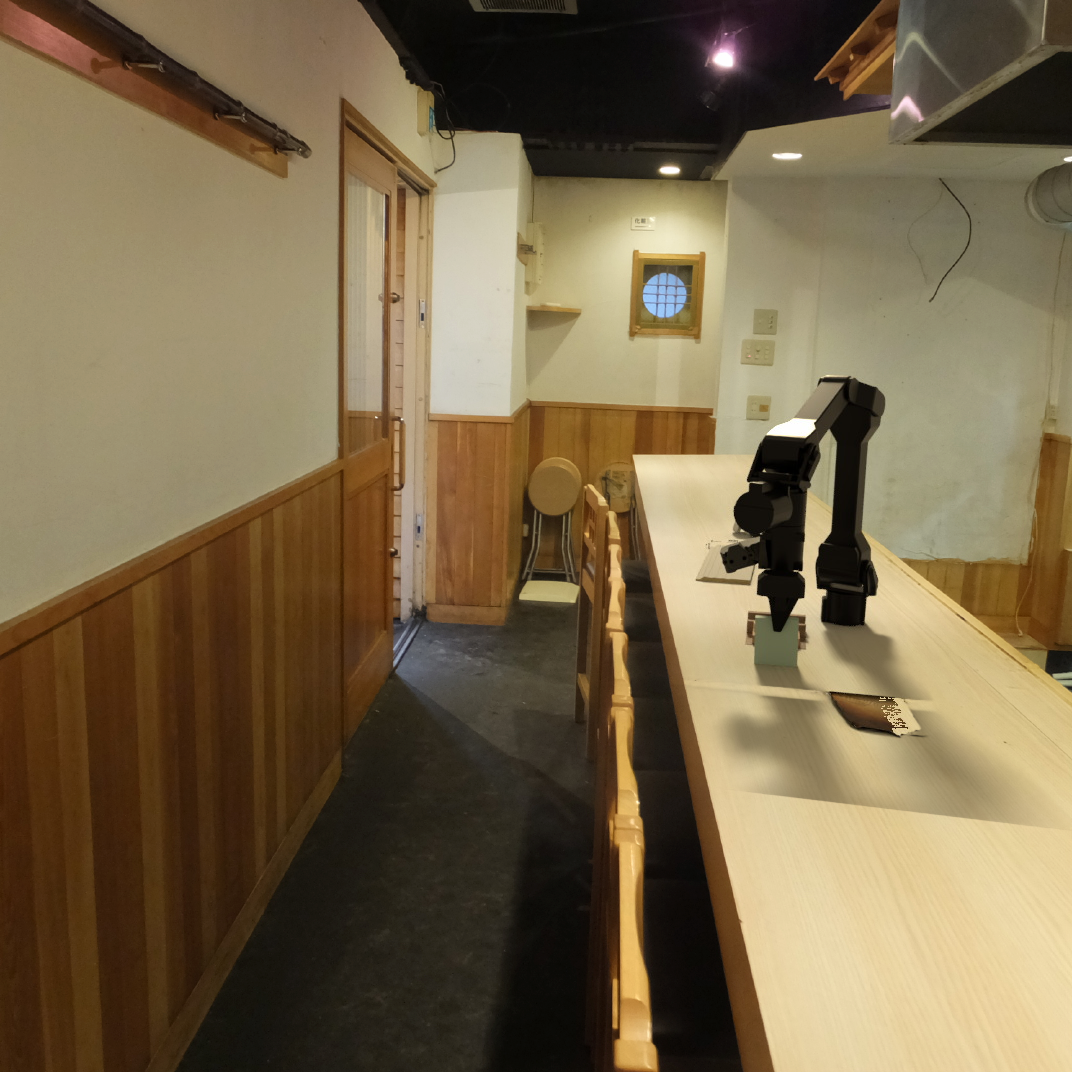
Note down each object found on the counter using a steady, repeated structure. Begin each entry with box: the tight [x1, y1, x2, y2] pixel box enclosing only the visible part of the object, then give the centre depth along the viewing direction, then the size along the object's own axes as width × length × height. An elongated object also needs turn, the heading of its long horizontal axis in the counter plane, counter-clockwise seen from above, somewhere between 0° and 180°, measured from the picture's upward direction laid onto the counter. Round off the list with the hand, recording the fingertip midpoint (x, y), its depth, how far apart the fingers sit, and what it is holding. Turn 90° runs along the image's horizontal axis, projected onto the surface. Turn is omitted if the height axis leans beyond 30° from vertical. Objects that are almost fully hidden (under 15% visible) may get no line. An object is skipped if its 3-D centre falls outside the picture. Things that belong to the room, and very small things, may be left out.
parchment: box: [829, 690, 908, 733], centre depth 126 cm, size 25×10×1 cm, turn 171°
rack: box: [744, 610, 807, 650], centre depth 148 cm, size 9×10×4 cm
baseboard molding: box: [695, 539, 755, 585], centre depth 200 cm, size 31×3×12 cm
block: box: [753, 615, 799, 668], centre depth 135 cm, size 6×1×7 cm, turn 76°
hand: (777, 630), depth 135 cm, fingers closed on block, 1 cm apart
